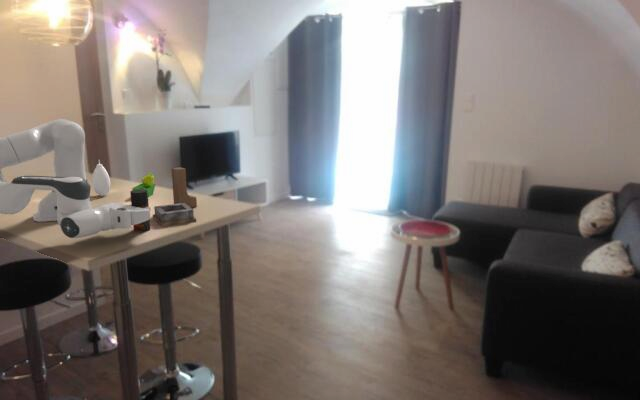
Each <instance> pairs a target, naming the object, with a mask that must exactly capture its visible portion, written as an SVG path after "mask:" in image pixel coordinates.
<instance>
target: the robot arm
mask: <svg viewBox="0 0 640 400" xmlns="http://www.w3.org/2000/svg"><path fill="white" fill-rule="evenodd" d="M85 140H86V134H85V130H84V128H82V126H81V125H80V124H78V123H77V122H75V121H72V120H68V119H64V118H58V119H55V120H52V121H48V122H45V123H42V124H39V125H37V126H35V127H32V128H29V129H26V130H23V131H19V132H16V133H13V134H9V135H7V136H3V137H0V214H2V215H15V214H18V213H19V212H22V211H23V210H24V209H25V208H26V207H27V206H28V205H29V203H30V202H31V199H32V197H33V194H34V192H35V191H36V190H39V191H51V192H49V193H48V194H47V195H46V196H44V197H43V198H42V199H41V200H40V201H39V203H38V206H37V211H36V212H35V213H33V214H32V220H33V221H35V222H38V223H42V222H52V221H55V222H56V221H57V224H58V225H59V226H60V229H61V231H62V233H63V235H64V236H66V237H68V238H70V239H77V238H78V239H79V238H85V237H89V236H93V235H94V236H95V235H96V234H99V233H100V232H107V231H109V230H115V229H116V230H117V229H130V228H132V226H133V225H136V224H139V223H142V222H145V221H147V220H149V219H151V209H152V208H151V207H150V206H149V207H144V208H139V207H134V206H132V204H131V203H130V204H123V203H118V202H108V203H106V204H102V205H98V206H96V207H94V208H93V206H92V203H91V199H90V196H91V188H92V187H91V186H92V185H91V184H89V182H88V181H89V180H88V179H87V177H86V175H87V174H86V165H85V152H86V151H85V147H86V146H85V145H86V144H85V143H86V141H85ZM51 152H54V153H53V154H54V157H53V167H54V175H55V176H50V175H49V176H48V175H47V176H46V175H45V176H44V175H21V176H17V177H15V178H12V181H6V180H5V176H4V173H3V170H2V169H3V168H9V167H12V166H16V165H20V164H22V163H27V162H28V161H32V160H35V159H38V158H41V157H43V156H45V155H47V154H49V153H51Z"/></svg>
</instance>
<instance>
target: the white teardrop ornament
mask: <svg viewBox="0 0 640 400" xmlns="http://www.w3.org/2000/svg"><path fill="white" fill-rule="evenodd" d="M106 169H107V168H105V167H104V165H103V164H101V160H100V159H98V164H96V167H95V168H94V170H93V173H92V180H91V183H92V187H93V188H92V189H93V191H94V192H95V193H96V194H97V195H98V196H100V197H104V196H106V195H107V194H109V192H110V189H111V180H110V179H111V178H110V176H109V173H108V171H107V170H106Z"/></svg>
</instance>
